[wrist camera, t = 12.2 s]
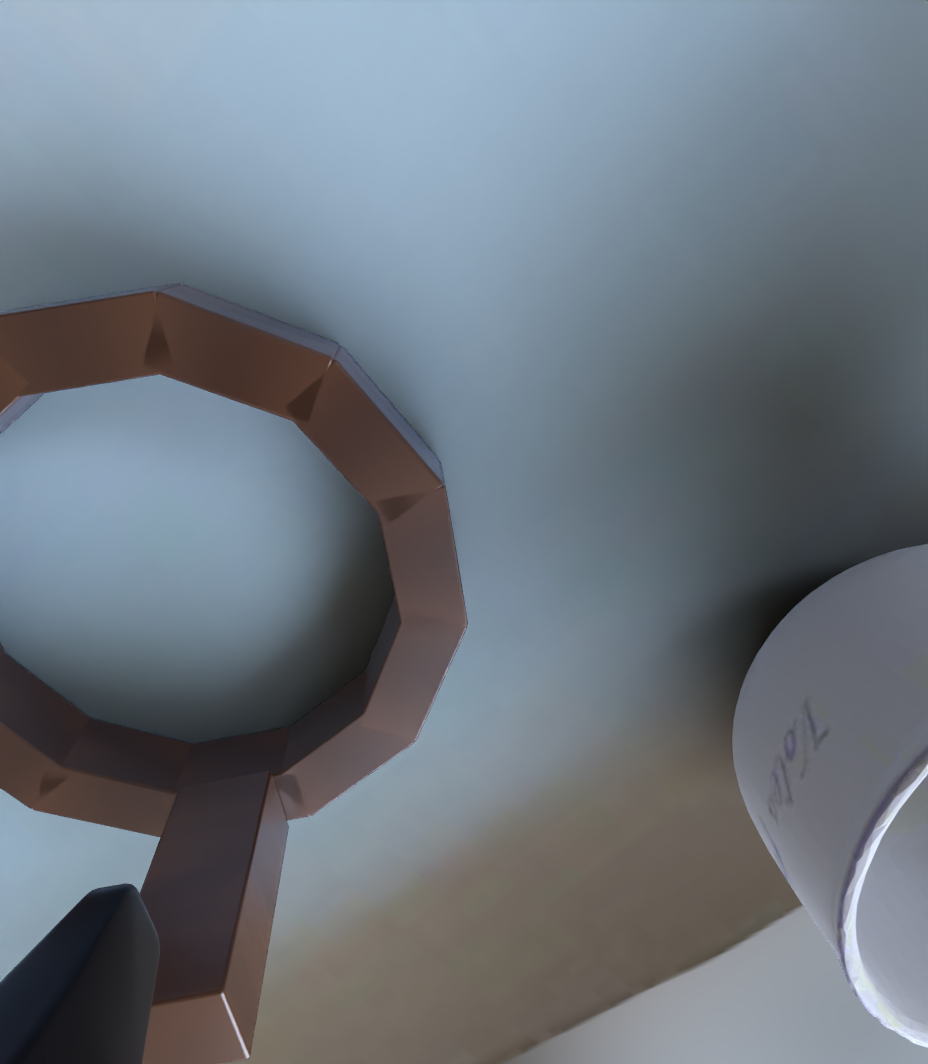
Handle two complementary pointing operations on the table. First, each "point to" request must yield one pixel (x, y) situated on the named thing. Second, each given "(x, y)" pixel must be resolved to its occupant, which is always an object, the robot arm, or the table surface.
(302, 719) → the ring
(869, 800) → the teacup
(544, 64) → the table surface
